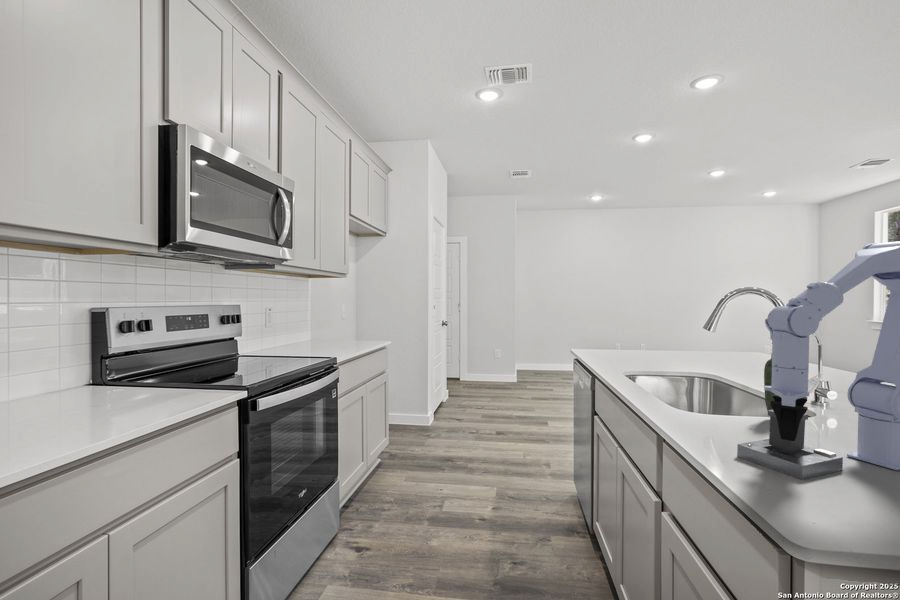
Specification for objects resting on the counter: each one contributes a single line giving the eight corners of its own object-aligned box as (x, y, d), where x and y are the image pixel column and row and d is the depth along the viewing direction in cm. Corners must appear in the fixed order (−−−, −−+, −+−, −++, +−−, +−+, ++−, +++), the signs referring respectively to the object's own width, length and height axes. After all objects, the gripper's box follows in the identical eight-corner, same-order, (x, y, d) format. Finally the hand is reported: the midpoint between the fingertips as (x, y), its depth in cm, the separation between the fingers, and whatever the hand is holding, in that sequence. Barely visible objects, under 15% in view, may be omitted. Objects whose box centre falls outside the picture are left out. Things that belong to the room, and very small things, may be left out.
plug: (781, 440, 90) (782, 407, 90) (806, 449, 86) (808, 414, 85) (766, 444, 89) (767, 410, 88) (791, 453, 84) (792, 417, 84)
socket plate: (775, 449, 95) (776, 435, 95) (842, 470, 84) (842, 454, 83) (737, 456, 90) (737, 441, 90) (802, 479, 79) (802, 463, 79)
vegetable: (764, 420, 116) (766, 344, 116) (762, 416, 120) (763, 343, 120) (785, 422, 114) (787, 345, 114) (782, 418, 118) (783, 344, 118)
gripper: (767, 360, 95) (765, 423, 95) (762, 369, 83) (760, 440, 84) (809, 364, 90) (807, 429, 91) (810, 374, 79) (808, 449, 79)
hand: (788, 435), depth 87 cm, fingers closed on plug, 6 cm apart
